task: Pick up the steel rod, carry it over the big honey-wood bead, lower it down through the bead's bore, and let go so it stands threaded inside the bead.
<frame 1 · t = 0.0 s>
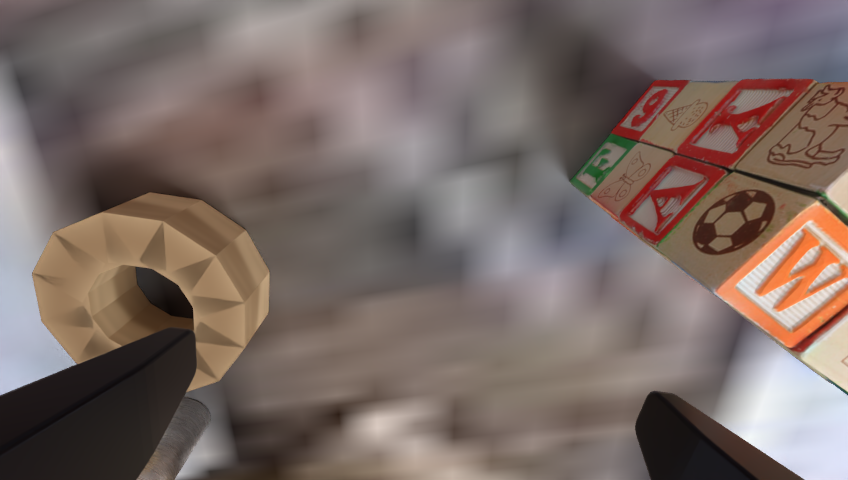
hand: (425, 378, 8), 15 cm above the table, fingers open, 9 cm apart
wooden bead: (180, 280, 24), on the table
stack of blocks: (743, 244, 23), on the table
steel rod: (189, 415, 27), on the table
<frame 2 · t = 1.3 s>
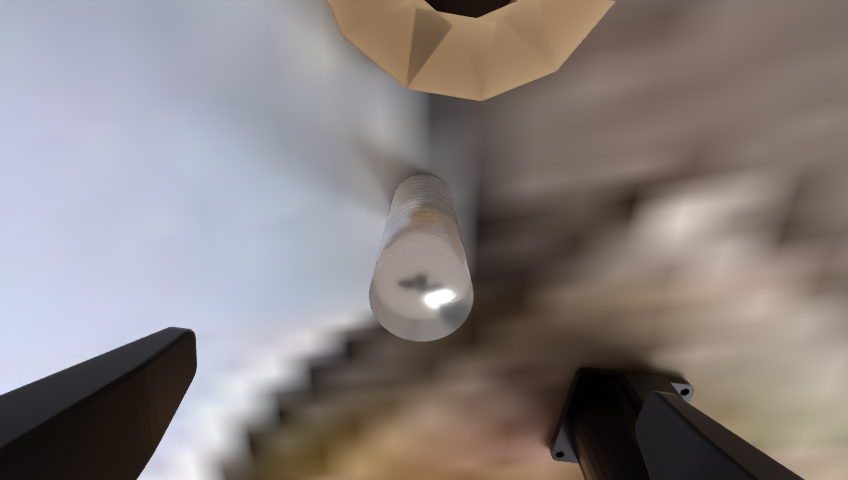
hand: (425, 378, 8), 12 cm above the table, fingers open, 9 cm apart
steel rod: (422, 203, 20), on the table
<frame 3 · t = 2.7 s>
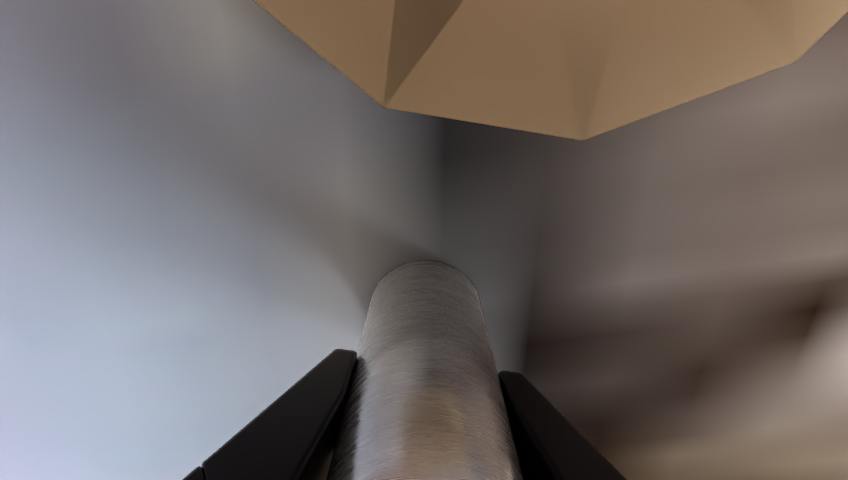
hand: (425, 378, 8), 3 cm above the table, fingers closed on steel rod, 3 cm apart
steel rod: (425, 311, 11), on the table, touching gripper
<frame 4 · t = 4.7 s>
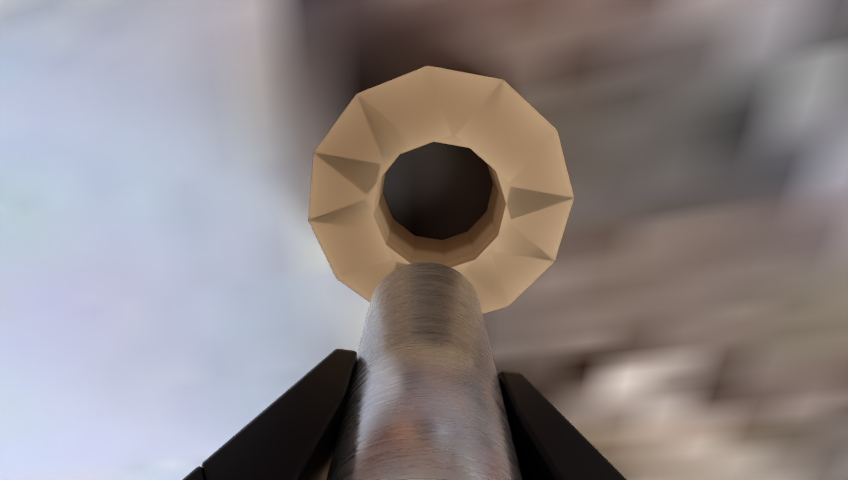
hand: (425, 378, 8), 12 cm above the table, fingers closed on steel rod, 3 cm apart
wooden bead: (437, 188, 19), on the table
steel rod: (425, 312, 11), point 10 cm above the table, touching gripper
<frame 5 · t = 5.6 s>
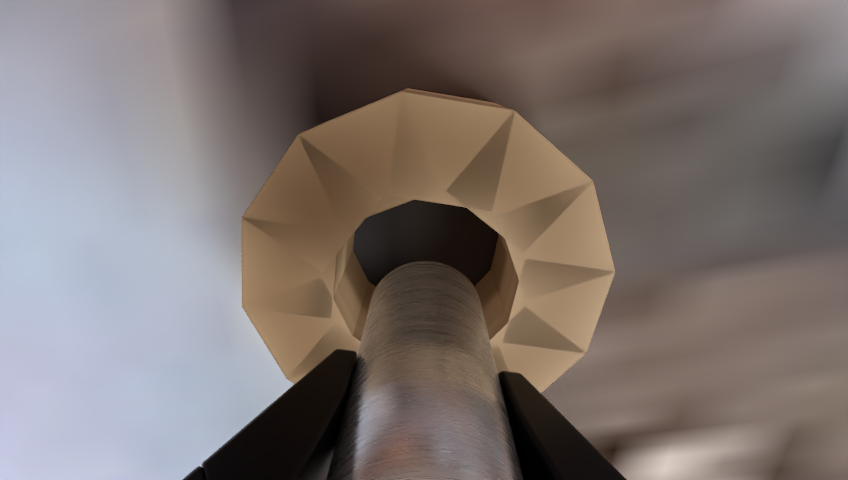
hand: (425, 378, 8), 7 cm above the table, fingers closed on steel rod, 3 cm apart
wooden bead: (425, 242, 15), on the table
steel rod: (425, 311, 11), point 5 cm above the table, touching gripper
when the fingers open (5 cm above the table, at t = 6.4 s): steel rod drops 2 cm, resting in wooden bead.
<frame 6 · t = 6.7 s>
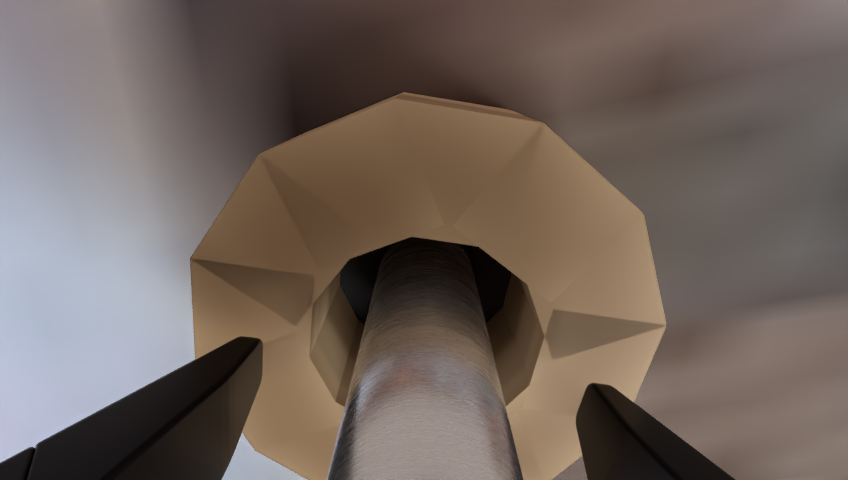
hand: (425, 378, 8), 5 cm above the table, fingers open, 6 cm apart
wooden bead: (425, 275, 12), on the table
steel rod: (425, 276, 12), resting in wooden bead
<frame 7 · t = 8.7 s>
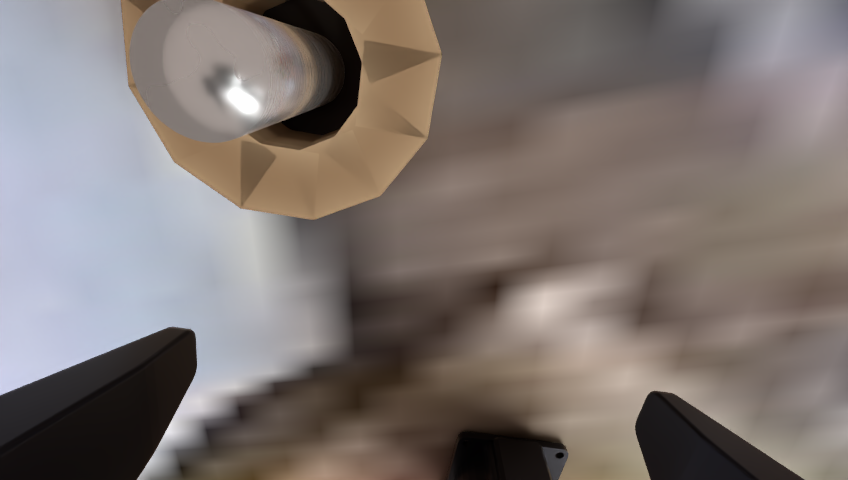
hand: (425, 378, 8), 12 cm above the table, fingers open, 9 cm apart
wooden bead: (310, 70, 17), on the table
steel rod: (310, 70, 17), resting in wooden bead
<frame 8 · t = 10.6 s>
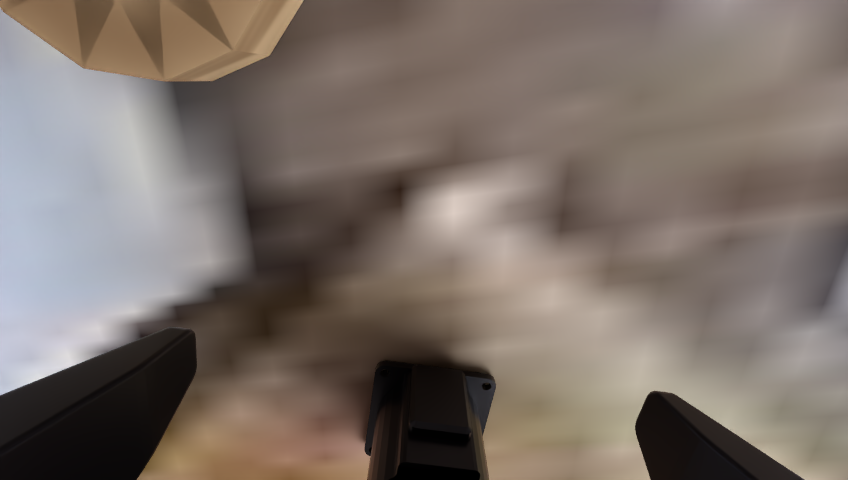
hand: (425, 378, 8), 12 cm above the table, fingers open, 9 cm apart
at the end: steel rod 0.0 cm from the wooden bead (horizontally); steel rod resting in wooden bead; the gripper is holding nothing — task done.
